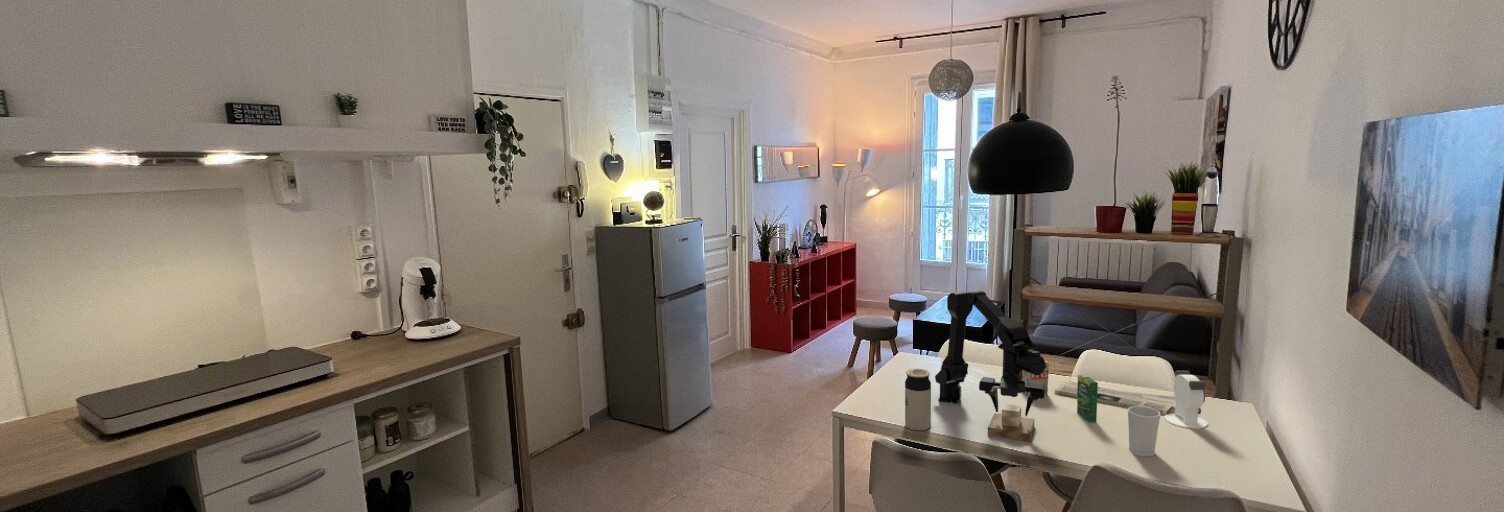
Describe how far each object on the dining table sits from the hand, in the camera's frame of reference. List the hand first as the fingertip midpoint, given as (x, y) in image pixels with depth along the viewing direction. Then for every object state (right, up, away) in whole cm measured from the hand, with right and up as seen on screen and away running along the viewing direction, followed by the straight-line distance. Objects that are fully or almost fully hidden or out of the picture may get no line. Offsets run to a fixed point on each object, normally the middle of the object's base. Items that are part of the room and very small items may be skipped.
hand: (1011, 413), depth 204 cm
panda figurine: (+56, -3, +2) cm, 56 cm away
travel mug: (-27, -6, +7) cm, 29 cm away
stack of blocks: (+21, +1, +39) cm, 45 cm away
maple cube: (0, -3, 0) cm, 3 cm away
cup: (+31, -7, -16) cm, 35 cm away
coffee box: (+27, -3, +8) cm, 29 cm away
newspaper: (+44, -1, +23) cm, 50 cm away
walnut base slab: (0, -5, +1) cm, 6 cm away
